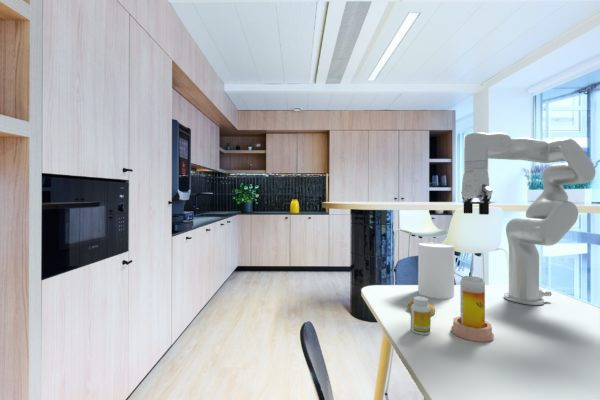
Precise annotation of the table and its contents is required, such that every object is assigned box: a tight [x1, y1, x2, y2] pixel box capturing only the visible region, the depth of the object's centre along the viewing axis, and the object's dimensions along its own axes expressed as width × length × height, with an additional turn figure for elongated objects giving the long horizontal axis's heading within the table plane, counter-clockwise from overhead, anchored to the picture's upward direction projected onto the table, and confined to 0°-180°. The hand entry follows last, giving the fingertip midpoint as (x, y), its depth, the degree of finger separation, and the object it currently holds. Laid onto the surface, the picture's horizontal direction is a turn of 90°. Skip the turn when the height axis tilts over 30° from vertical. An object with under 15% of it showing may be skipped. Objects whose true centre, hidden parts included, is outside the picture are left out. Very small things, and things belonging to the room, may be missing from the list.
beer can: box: [459, 275, 486, 328], centre depth 90 cm, size 6×6×15 cm
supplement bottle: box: [410, 295, 432, 336], centre depth 91 cm, size 5×5×10 cm
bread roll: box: [407, 299, 436, 316], centre depth 107 cm, size 8×9×4 cm
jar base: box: [450, 316, 495, 343], centre depth 90 cm, size 11×11×3 cm
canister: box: [417, 242, 455, 300], centre depth 129 cm, size 14×14×20 cm
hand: (475, 213), depth 115 cm, fingers open, 9 cm apart
